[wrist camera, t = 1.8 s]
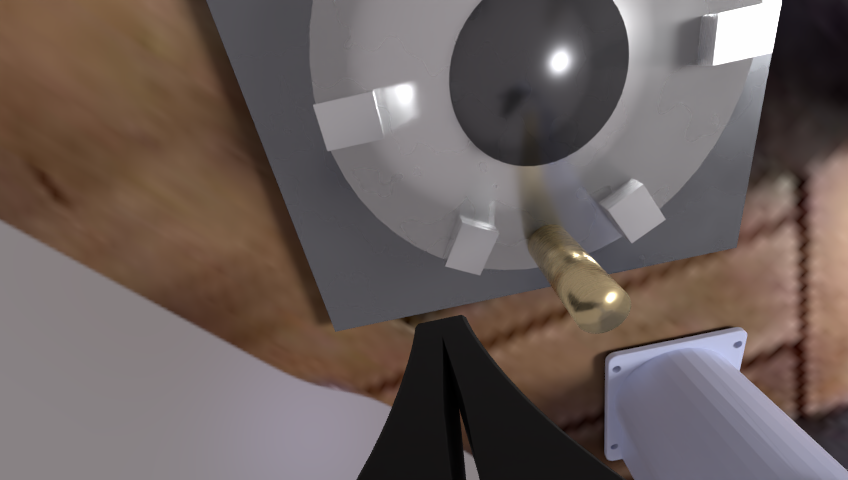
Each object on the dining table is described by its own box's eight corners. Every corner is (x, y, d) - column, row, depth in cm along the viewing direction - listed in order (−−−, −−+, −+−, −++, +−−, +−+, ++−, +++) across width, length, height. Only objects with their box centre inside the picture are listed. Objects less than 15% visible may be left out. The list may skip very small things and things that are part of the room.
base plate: (720, 238, 20) (737, 248, 19) (337, 319, 20) (335, 332, 19) (820, -390, 11) (863, -433, 10) (134, -218, 11) (109, -244, 10)
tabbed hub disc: (683, 205, 17) (841, 289, 11) (378, 270, 18) (371, 385, 12) (731, -240, 11) (1141, -595, 5) (260, -127, 11) (109, -330, 5)
